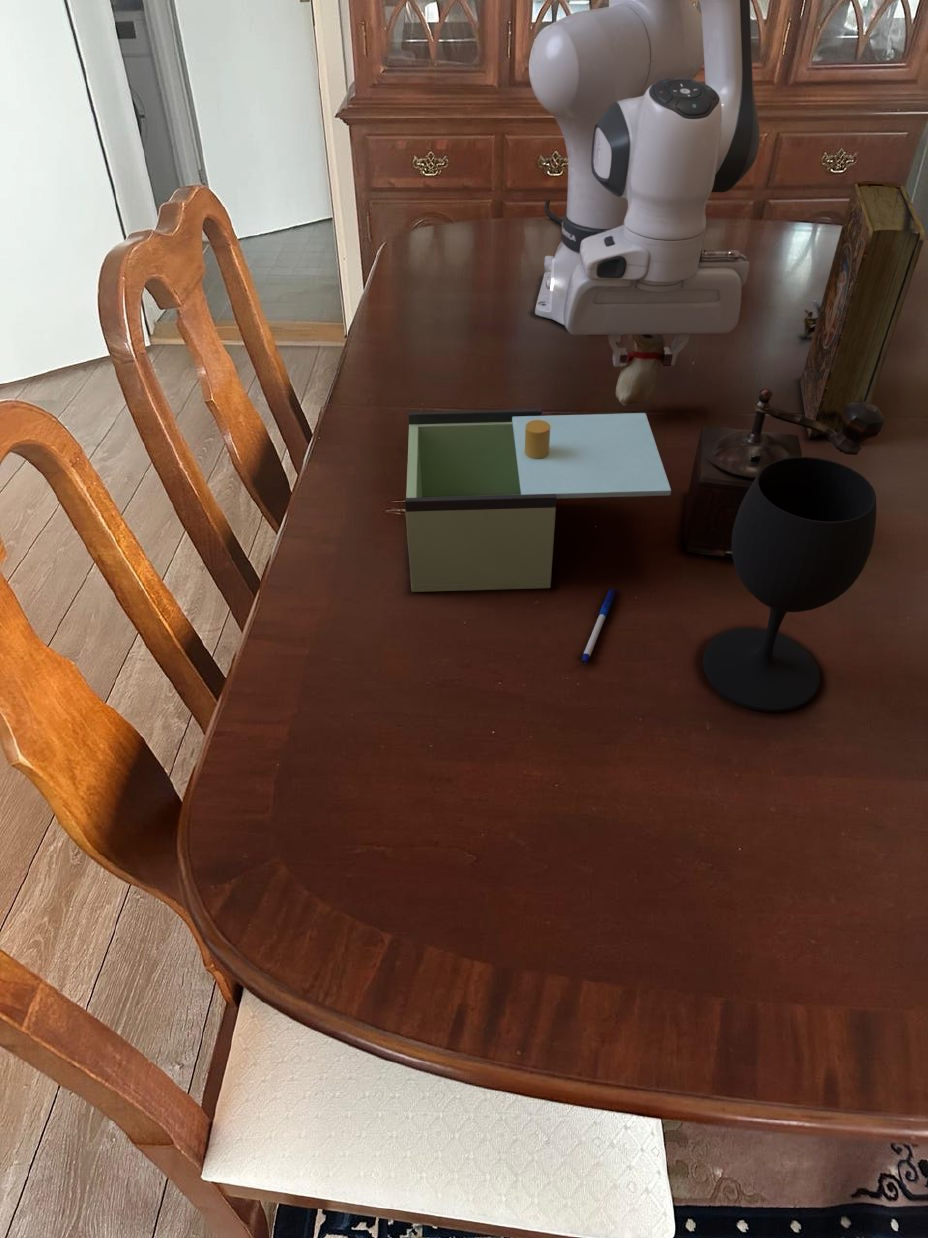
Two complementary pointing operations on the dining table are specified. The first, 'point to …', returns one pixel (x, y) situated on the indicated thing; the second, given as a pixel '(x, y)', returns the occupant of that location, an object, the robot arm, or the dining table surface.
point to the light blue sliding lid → (588, 456)
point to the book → (861, 300)
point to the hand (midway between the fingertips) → (642, 364)
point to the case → (473, 505)
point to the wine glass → (790, 574)
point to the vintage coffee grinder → (754, 466)
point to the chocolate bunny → (640, 370)
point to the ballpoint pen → (598, 625)
